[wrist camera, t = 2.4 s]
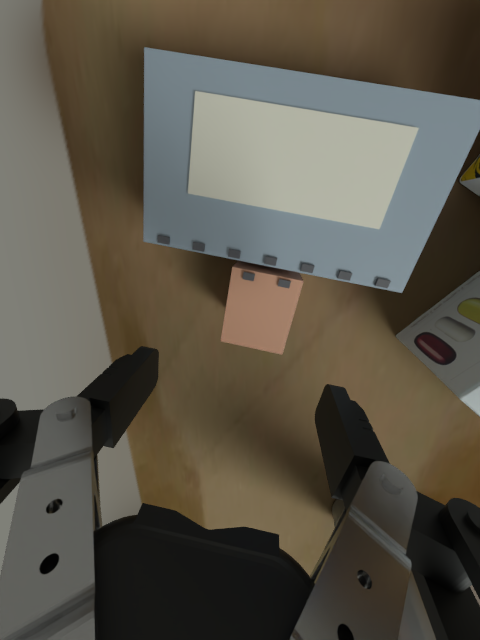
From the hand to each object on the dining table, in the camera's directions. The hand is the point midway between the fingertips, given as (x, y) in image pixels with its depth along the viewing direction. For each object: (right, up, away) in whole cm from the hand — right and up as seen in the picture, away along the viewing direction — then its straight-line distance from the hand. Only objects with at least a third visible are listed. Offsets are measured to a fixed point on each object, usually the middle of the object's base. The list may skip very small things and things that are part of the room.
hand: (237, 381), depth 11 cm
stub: (+2, +6, +12) cm, 13 cm away
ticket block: (+4, +13, +8) cm, 16 cm away
